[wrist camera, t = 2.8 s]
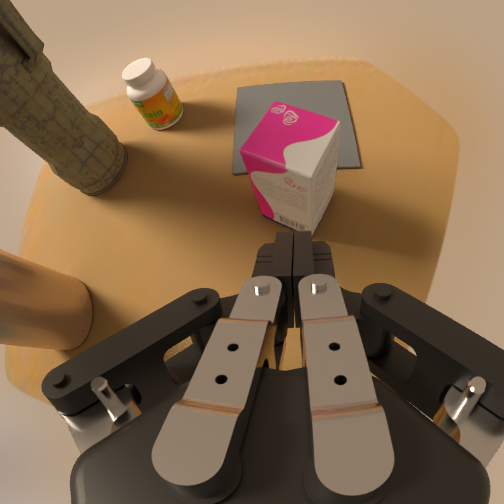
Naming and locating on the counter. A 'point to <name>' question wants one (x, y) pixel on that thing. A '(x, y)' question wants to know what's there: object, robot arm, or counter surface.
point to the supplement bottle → (152, 94)
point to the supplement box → (293, 165)
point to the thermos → (52, 112)
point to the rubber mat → (302, 96)
